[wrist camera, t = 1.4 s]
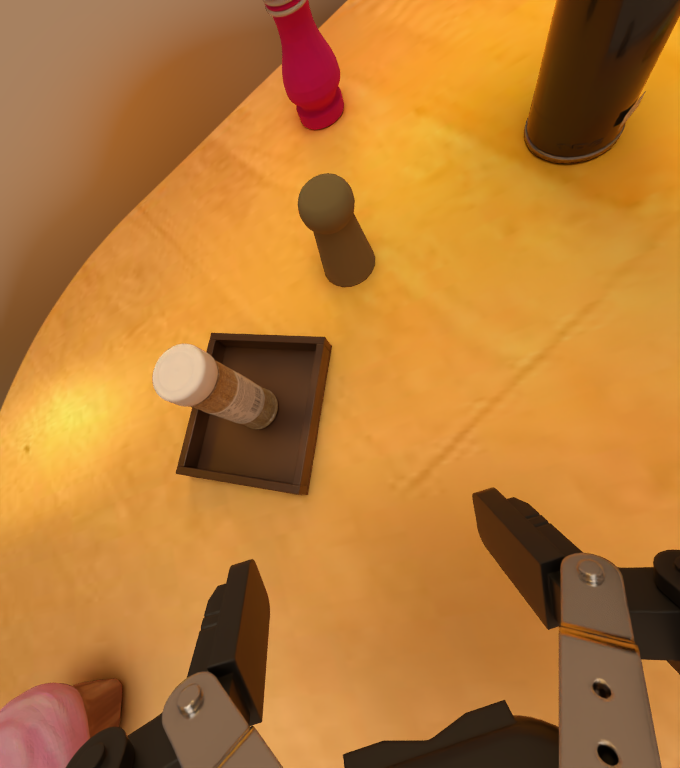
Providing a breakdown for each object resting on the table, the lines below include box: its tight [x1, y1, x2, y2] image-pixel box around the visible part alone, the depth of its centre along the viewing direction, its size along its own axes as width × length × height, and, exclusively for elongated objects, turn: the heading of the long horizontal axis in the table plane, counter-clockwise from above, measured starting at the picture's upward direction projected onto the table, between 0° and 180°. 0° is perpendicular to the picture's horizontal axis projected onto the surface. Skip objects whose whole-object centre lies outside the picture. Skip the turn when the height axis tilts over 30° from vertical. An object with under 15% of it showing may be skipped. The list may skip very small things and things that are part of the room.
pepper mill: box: [263, 0, 344, 130], centre depth 41 cm, size 7×7×20 cm
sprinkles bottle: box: [153, 344, 278, 429], centre depth 33 cm, size 5×5×13 cm
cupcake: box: [0, 679, 122, 768], centre depth 30 cm, size 9×9×10 cm
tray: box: [176, 333, 332, 495], centre depth 38 cm, size 16×14×2 cm
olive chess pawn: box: [298, 173, 375, 287], centre depth 37 cm, size 6×6×11 cm
